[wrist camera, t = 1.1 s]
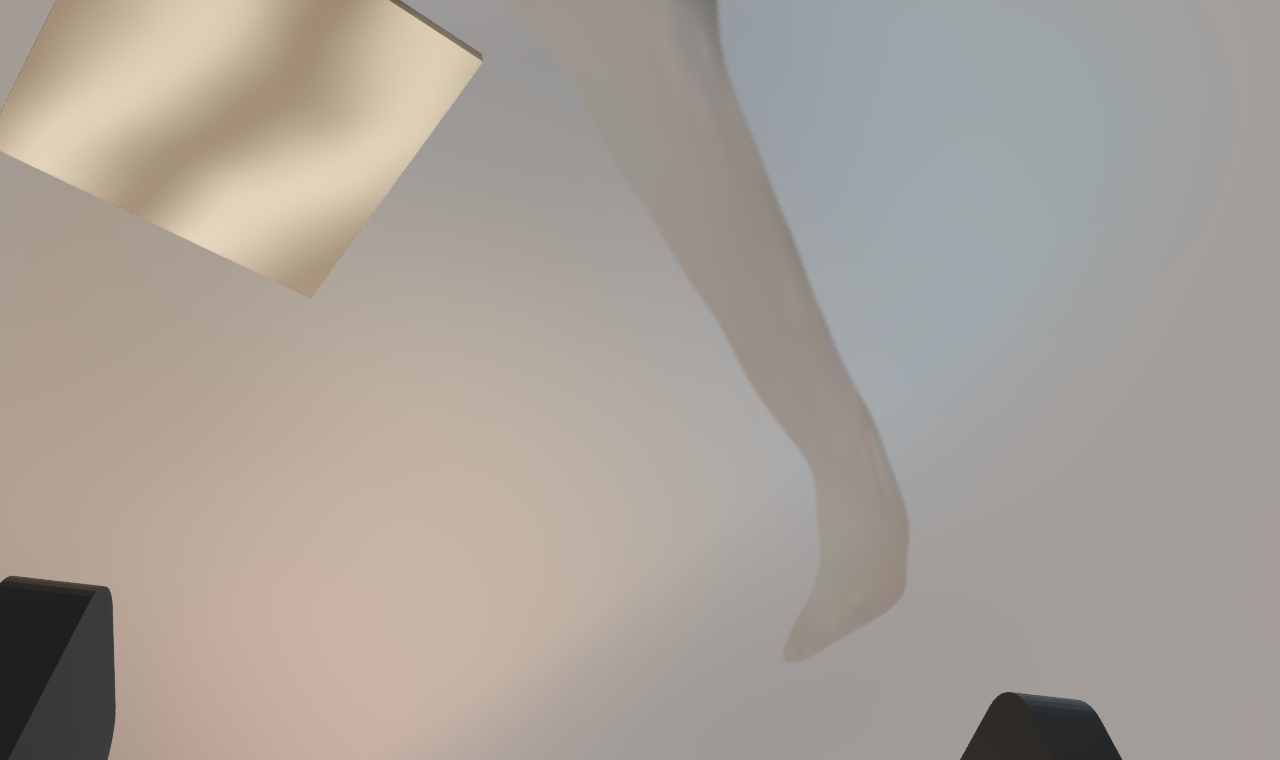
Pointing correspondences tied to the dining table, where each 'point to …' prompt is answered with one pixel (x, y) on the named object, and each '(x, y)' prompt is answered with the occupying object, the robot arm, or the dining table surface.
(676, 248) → the dining table surface
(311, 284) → the pad
